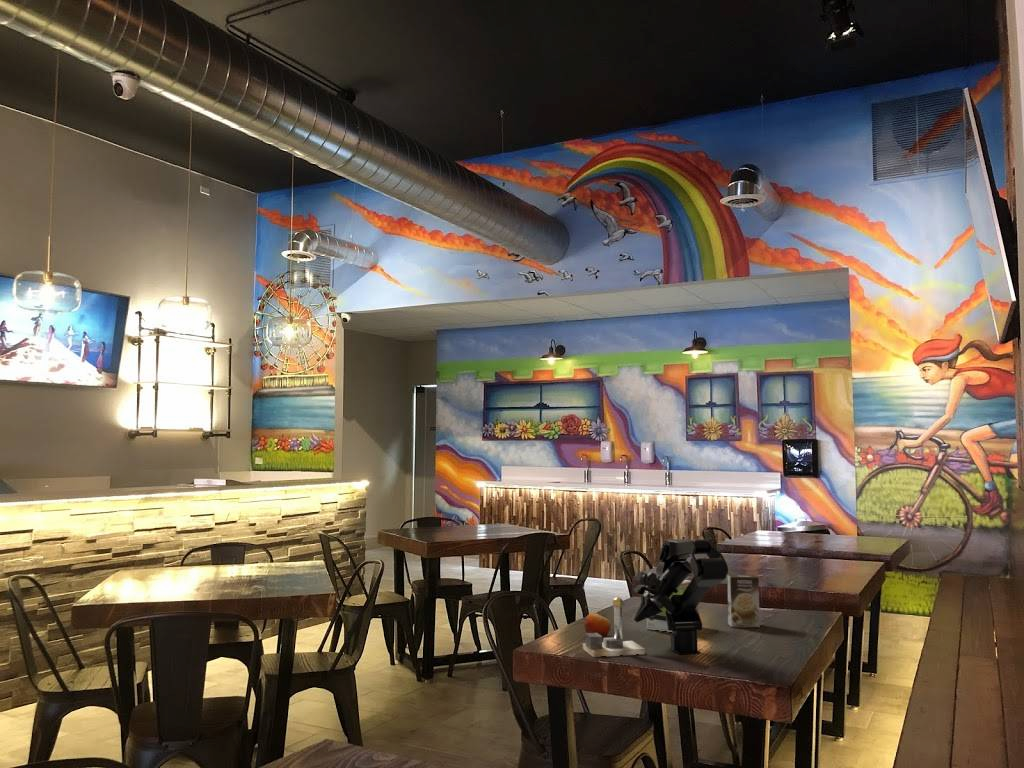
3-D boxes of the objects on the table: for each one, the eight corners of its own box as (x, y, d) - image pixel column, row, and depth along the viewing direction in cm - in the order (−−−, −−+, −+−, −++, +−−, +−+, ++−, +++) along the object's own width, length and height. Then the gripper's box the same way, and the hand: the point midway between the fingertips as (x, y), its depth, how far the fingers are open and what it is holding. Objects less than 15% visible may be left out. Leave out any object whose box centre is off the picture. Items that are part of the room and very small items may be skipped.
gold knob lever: (621, 643, 234) (620, 596, 235) (625, 646, 231) (624, 598, 232) (602, 645, 233) (601, 597, 234) (606, 647, 230) (605, 598, 231)
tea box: (674, 633, 254) (673, 585, 255) (645, 629, 260) (645, 582, 261) (695, 625, 266) (694, 579, 267) (667, 621, 272) (666, 576, 273)
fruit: (574, 630, 252) (586, 607, 254) (594, 642, 254) (606, 618, 256) (585, 636, 245) (597, 611, 247) (606, 648, 247) (618, 623, 249)
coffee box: (731, 627, 262) (729, 576, 264) (727, 623, 269) (726, 573, 270) (760, 628, 262) (758, 577, 263) (756, 623, 268) (754, 574, 269)
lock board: (632, 645, 238) (632, 628, 239) (644, 654, 228) (644, 636, 229) (582, 648, 235) (582, 631, 235) (593, 657, 225) (593, 639, 226)
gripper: (639, 557, 245) (605, 596, 242) (664, 565, 227) (627, 607, 224) (665, 582, 246) (631, 622, 243) (691, 592, 228) (655, 635, 225)
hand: (635, 621), depth 234 cm, fingers closed
